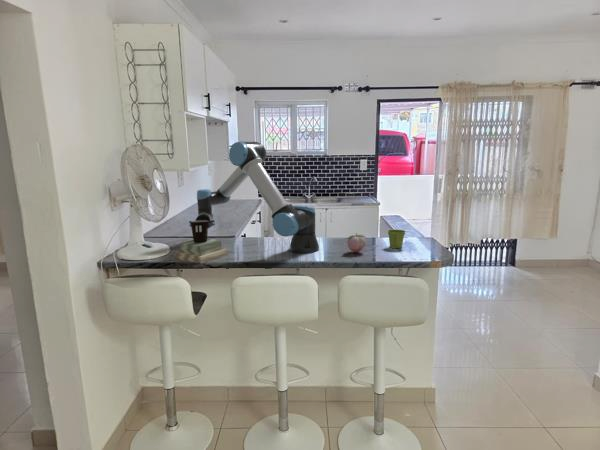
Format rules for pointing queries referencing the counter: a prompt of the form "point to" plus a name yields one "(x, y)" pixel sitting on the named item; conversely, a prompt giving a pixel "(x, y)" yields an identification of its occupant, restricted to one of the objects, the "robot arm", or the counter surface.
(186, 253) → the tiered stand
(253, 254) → the counter surface
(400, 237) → the plant pot
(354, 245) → the decorative fruit
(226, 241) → the counter surface
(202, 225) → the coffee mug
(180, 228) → the counter surface
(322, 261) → the counter surface
